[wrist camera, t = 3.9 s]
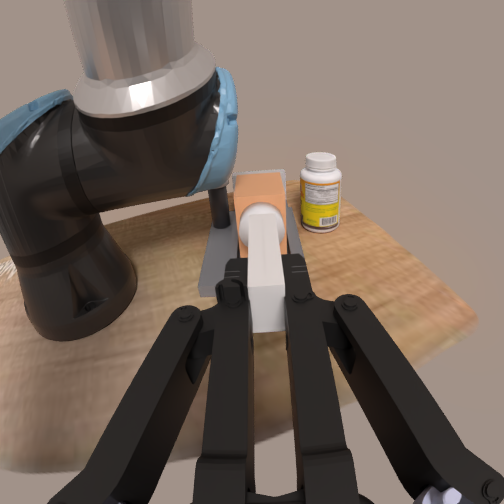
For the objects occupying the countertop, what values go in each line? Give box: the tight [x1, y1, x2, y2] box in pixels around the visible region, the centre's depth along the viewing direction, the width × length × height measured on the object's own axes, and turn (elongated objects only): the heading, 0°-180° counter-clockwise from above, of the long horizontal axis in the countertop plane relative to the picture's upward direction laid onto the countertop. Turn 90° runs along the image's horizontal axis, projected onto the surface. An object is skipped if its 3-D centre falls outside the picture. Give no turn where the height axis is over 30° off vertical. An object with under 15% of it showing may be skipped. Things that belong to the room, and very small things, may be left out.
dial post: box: [208, 180, 231, 229], centre depth 41 cm, size 3×3×7 cm
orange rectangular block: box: [234, 172, 287, 258], centre depth 31 cm, size 5×8×9 cm, turn 0°
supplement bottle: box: [300, 152, 342, 233], centre depth 41 cm, size 6×6×10 cm
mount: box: [198, 169, 305, 297], centre depth 37 cm, size 12×17×8 cm
